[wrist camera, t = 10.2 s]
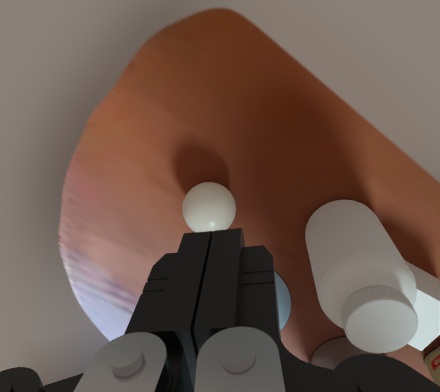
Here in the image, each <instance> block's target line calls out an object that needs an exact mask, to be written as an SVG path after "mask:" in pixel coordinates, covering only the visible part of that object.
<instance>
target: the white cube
mask: <svg viewBox="0 0 440 392" xmlns="http://www.w3.org/2000/svg"><path fill="white" fill-rule="evenodd" d="M404 261H405V260H404ZM405 262H406V264H407V265H408V267H409V269H410V270H411V272H412V274H413V276H414V279H415V282H416V289H417V295H416V301H415V304H414V307H413V308H414V309H415V311H416V314H417V317H418V328H417V332H416V334H415V336H414V337H413V338H412V340H411V341H410V342H409V343H408V344H409V345H411V346H413V347H415V348H416V349H418V350H420V351H422V350H423V349H424V348H426V347H427V346H428V345H429V344H430V343H431V342H432V341H433V340H434V339H436V338H437V337H438V336H439V335H440V281H439V280H438V279H437V278H436V277H434V276H432V275H430V274H429V273H427V272H425V271H423V270H421V269H420V268H418V267H416V266H414V265H412V264H411V263H409V262H407V261H405Z"/></svg>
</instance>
